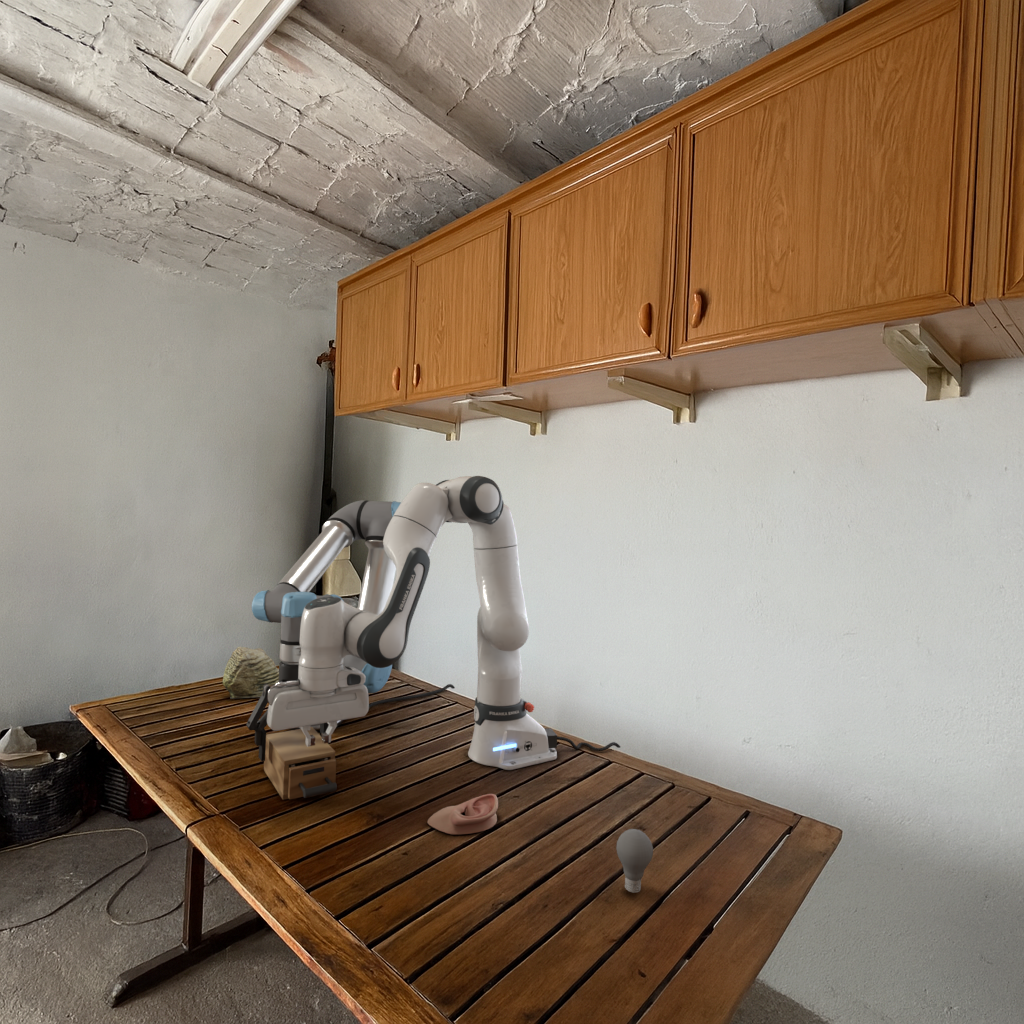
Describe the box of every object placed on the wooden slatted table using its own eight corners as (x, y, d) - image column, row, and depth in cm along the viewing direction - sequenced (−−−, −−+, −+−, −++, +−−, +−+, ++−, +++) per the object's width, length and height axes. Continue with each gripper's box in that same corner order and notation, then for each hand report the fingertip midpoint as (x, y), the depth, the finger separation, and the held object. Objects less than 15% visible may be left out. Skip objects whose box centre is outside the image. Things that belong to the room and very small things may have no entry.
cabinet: (333, 788, 138) (335, 751, 138) (282, 800, 132) (284, 760, 132) (310, 760, 151) (312, 726, 151) (263, 770, 145) (265, 734, 145)
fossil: (218, 695, 195) (220, 647, 195) (278, 685, 208) (279, 640, 207) (228, 703, 189) (230, 653, 188) (289, 692, 201) (290, 645, 201)
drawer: (343, 799, 131) (345, 770, 131) (296, 811, 125) (297, 780, 125) (313, 763, 148) (314, 736, 148) (270, 771, 142) (271, 744, 142)
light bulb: (610, 879, 108) (613, 822, 108) (644, 879, 109) (647, 822, 109) (619, 902, 102) (622, 840, 102) (655, 901, 103) (658, 840, 103)
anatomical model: (422, 809, 122) (441, 784, 133) (421, 830, 122) (440, 802, 133) (489, 819, 119) (502, 792, 130) (488, 840, 119) (502, 811, 130)
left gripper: (242, 670, 134) (238, 770, 134) (355, 659, 148) (351, 749, 148) (234, 662, 140) (231, 757, 141) (344, 652, 154) (340, 738, 155)
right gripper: (272, 687, 122) (269, 759, 122) (373, 674, 133) (370, 740, 133) (264, 679, 127) (261, 747, 127) (361, 667, 138) (359, 730, 139)
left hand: (293, 753), depth 145 cm, fingers open, 13 cm apart
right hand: (318, 743), depth 130 cm, fingers closed
